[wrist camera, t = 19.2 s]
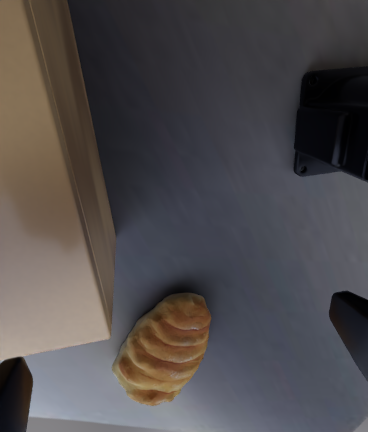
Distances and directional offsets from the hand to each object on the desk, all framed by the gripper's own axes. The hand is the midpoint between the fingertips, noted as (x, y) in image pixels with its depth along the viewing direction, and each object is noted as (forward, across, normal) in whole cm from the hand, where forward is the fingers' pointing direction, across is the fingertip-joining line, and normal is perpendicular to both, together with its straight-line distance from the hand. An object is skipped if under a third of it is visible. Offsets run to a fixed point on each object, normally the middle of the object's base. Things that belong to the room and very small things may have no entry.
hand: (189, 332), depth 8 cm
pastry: (+12, +1, +13) cm, 18 cm away
